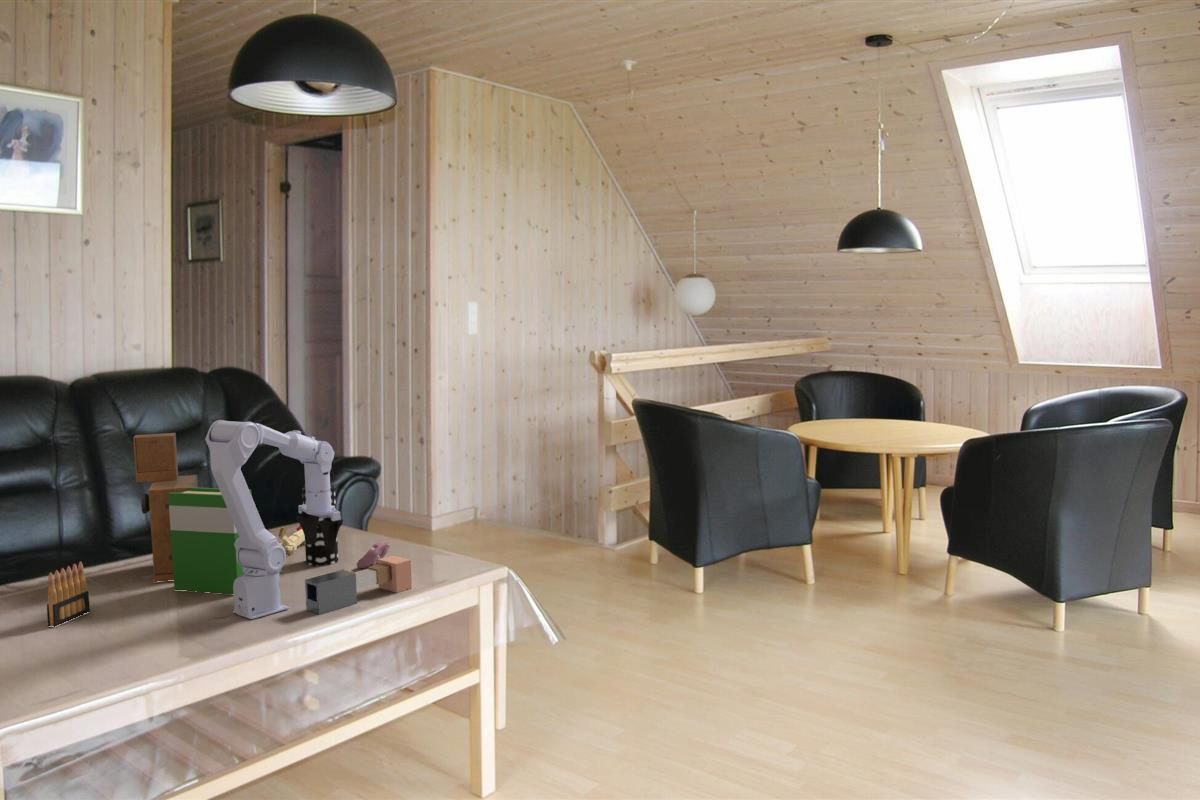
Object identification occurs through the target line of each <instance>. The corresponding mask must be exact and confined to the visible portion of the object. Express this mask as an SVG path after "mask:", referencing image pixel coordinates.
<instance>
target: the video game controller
mask: <svg viewBox="0 0 1200 800" xmlns="http://www.w3.org/2000/svg"><path fill="white" fill-rule="evenodd" d="M389 549H390V545H389V544H388V543H387V542H383V541H381V542H376V543H374V544H373V545H372V547H371V548H370V549H369V550H368V551H367V552H366V554H365V555H363V556H362V558H360V559H358V560H357V562H356V567H357V569H359V570H361V569H360V568H363V569H367V568H368V567H370V566H374V565H377V564H378V559H381V558H384V557H386V554H387V553H388V552H389Z"/></svg>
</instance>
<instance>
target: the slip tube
mask: <svg viewBox="0 0 1200 800" xmlns="http://www.w3.org/2000/svg"><path fill="white" fill-rule="evenodd" d="M353 573H356V590H358V589H361V588H365V587H368V586H372V585H379V584H382V583H385V582H389V581H390V578H391V577H392V573H391V566H389V565H384V564H378V563H376V565H374V566H371V565H369V566H367V568H364V569H360V570H359V571H354V572H353Z"/></svg>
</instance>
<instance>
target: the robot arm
mask: <svg viewBox="0 0 1200 800" xmlns="http://www.w3.org/2000/svg"><path fill="white" fill-rule="evenodd" d="M204 439H205V443H206V445H207V446H208V450H209V455H210V456H209V458H210V470H211V473H212V475H213V478H214V480H215V482H216V485H217V487H218V488H219V490H220V492H221V494H222V497H223V499H224V502H225V504H226V506H227V509H228V511H229V513H230V516H231V518H232V520H233V523H234V525H235V527H236V530H237V532H238V534H239V538H238V539H237V540H236V542H235V543H234V546H235V548H236V559H237V562H238V564H239V565H240V566H241V567H242V568H243V572H245V574H244V575H243V576H241V577H239V578H236V579H235V581H234V584H233V594H234V595H233V608H234V609H233V610H232V613H233V614H235V613H236V615H238V616H241V617H244V618H246V619H249V620H255V619H258V618H261V617H264V616H268V615H272V614H275V613H280V612H283V611H285V610H288V609H289V608H290V607H289V606H288V605H285V604H282V603H281V588H280V587H281V585H280V584H281V583H280V572H281V571H282V568H283V567H284V565H285V563H286V559H287V556H286V552H285V549H284V547H283V546H282V545H280V543H279V542H278V538H277V537H276V536H275V535H273V533H271V532H270V531H268V530H267V529H266V527H265V525H264V523H263V521H262V519H261V516H260V513H259V510H258V509H257V507H256V504H255V501H254V499H253V496H251V494H250V491H249V490H250V489H249V487H248V484H247V481H246V479H245V477H244V475H243V472H242V470H241V468H242V467H243V465H245V464H246V462H247V461H248V460H249V458H250V457H251V456H252V454H253V452H254V451H255V449H256V448H257V446H258V445H262V444H265V445H269V446H273V447H277V448H278V449H279V452H280V453H281V454H282V456H285V457H289V458H292V459H294V460H295V459H296V460H299V462H300V463H301V464H304V465H303V467H304V481H305V483H304V487H305V488H306V504H303V503H302V504H299V505H298V506H297V507H298V514H300V515H298V516H296V518H295V519H296V521H297V523H298V524H299V525H300V526H301V528H302V530H303V532H304V535H305V539H306V542H307V544H308V545H310V544H314V543H316V540H317V526H318V523H319V525H320V527H321V530H322V533H323V538H324V545H325V549H327V550H328V549H332V548H334V547H335V542H336V538H337V539H338V534H339V530H340V528H341V526H342V524H343V523H344V518H341V511H339V510H337V509H336V510H335V506H332V505H331V491H330V485H331V476H330V473H331V470H332V463H333V460H334V459H335V458H334V457H335V451H334V449H333V446H332V445H331V444H330V443H329V442H328V441H326V440H325V441H324V440H317V439H316V437H314V436H312V435H311V436H310V435H308V436H307V435H303V434H302V431H300V430H297V429H295V430H294V429H293V430H292V431H291V430H290V431H287V432H285V433H283V432H280V431H278V430H275V429H273V428H272V427H268V426H267V425H263V424H261V423H257V422H252V421H232V420H231V421H229V420H225V419H218V420H216V421H214V422H213V423H212V424H211V425H210V426H209V429H208V431H207V434H206V436H205V438H204ZM320 517H323V518H326V520H322V521H319V518H320Z"/></svg>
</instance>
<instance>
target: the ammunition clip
mask: <svg viewBox="0 0 1200 800" xmlns="http://www.w3.org/2000/svg"><path fill="white" fill-rule="evenodd" d="M47 584H48V585H47V587H48V588H47V601H48V603H47V604H46V614H47V615H46V616H47V627H48V626H54V627H55V626H57V625H59V624H62V623H64V622H66V621H69V620H71V619H73V618H76V617H78V616H80V615H83V614H84V613H87V612H90V613H91V607H90V604H91V603H90V596H89V591H88V590H87V580H86V576H85V570H84V566H83V562H82V561H79V563H78V566H77V564H76V563H73V564H72V569H71V567H70V565H68V566H67V567H66V570H65V569H64V567H61V569H60V573H59V571H58V570H57V569H55V571H54V575H53V573H52V571H51V572H49V573H48V578H47Z"/></svg>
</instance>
